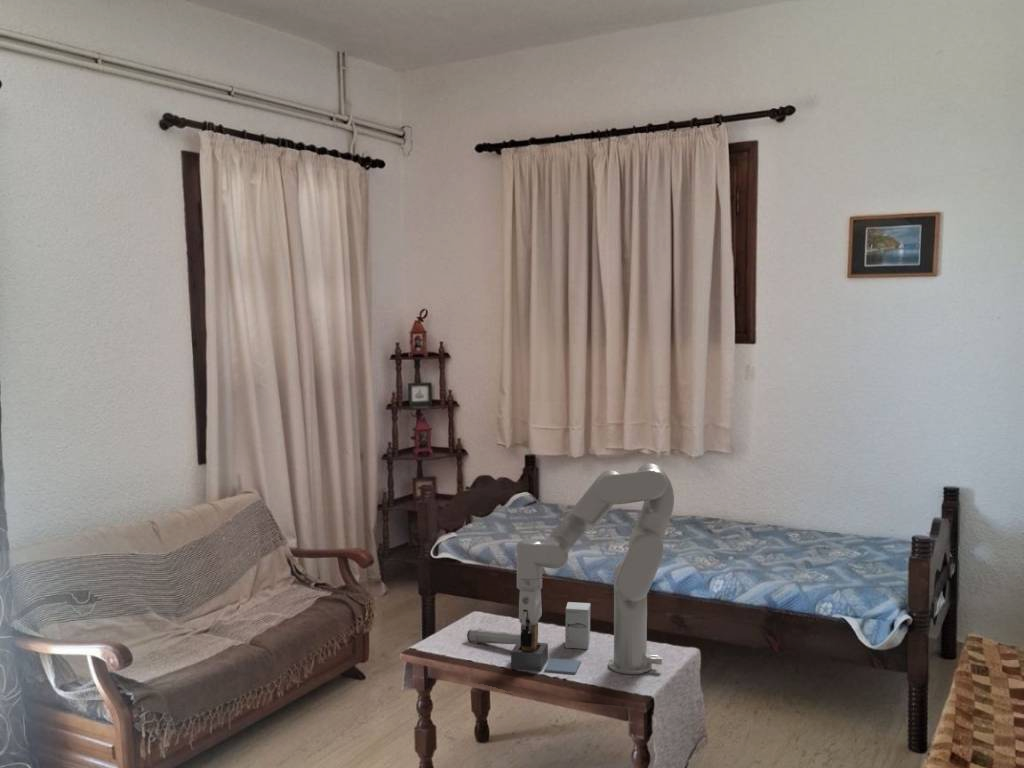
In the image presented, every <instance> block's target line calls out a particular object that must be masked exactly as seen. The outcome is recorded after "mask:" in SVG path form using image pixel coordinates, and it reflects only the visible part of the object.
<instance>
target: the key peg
mask: <svg viewBox="0 0 1024 768" xmlns="http://www.w3.org/2000/svg"><path fill="white" fill-rule="evenodd" d="M527 622H530V621H527ZM526 626H528V628H529V625H526ZM531 633H532V646H531V647H525V646H521V650H525V651H536V652H537V650H538V642H539V620H538V621H537V623H536V624H533V623H532V625H531Z"/></svg>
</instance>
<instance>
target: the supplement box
mask: <svg viewBox="0 0 1024 768" xmlns="http://www.w3.org/2000/svg"><path fill="white" fill-rule="evenodd" d="M591 605H592V604H591V603H590V602H574V601H573V602H572V601H567V603H566V607H565V622H564V623H565V627H564V628H565V630H564V632H565V635H564V636H565V637H564V639H565V640H564V642H565V643H564V646H565V647H564V648H565V649H567V648H569V649H579V650H580V649H582V650H589V646H590V642H591V641H590V640H591Z"/></svg>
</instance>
